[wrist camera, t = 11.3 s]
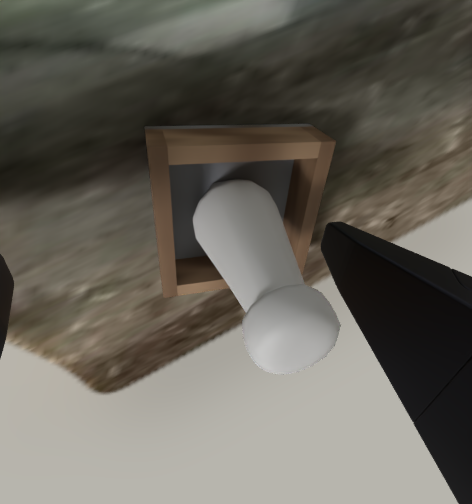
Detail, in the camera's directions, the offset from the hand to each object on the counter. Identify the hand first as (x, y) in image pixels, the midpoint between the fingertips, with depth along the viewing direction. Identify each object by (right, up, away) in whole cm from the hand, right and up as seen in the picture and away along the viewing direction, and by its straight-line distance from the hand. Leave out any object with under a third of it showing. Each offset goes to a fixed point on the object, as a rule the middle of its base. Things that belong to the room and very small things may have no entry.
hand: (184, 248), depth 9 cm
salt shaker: (+1, +3, +14) cm, 15 cm away
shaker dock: (+1, +4, +15) cm, 15 cm away
